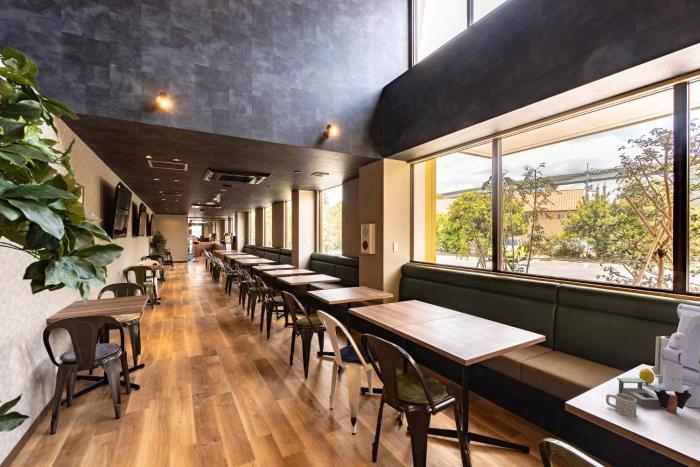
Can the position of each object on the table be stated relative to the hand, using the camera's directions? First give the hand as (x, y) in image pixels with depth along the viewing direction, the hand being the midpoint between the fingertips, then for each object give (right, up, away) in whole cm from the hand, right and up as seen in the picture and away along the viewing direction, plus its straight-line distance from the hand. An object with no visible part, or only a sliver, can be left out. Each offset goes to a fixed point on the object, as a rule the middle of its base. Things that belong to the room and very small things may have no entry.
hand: (671, 407), depth 136 cm
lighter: (+20, -2, +25) cm, 32 cm away
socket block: (-5, -1, +9) cm, 11 cm away
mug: (-22, -2, 0) cm, 22 cm away
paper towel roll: (+30, -2, +32) cm, 44 cm away
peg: (0, -2, 0) cm, 2 cm away
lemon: (+12, -2, +24) cm, 27 cm away
